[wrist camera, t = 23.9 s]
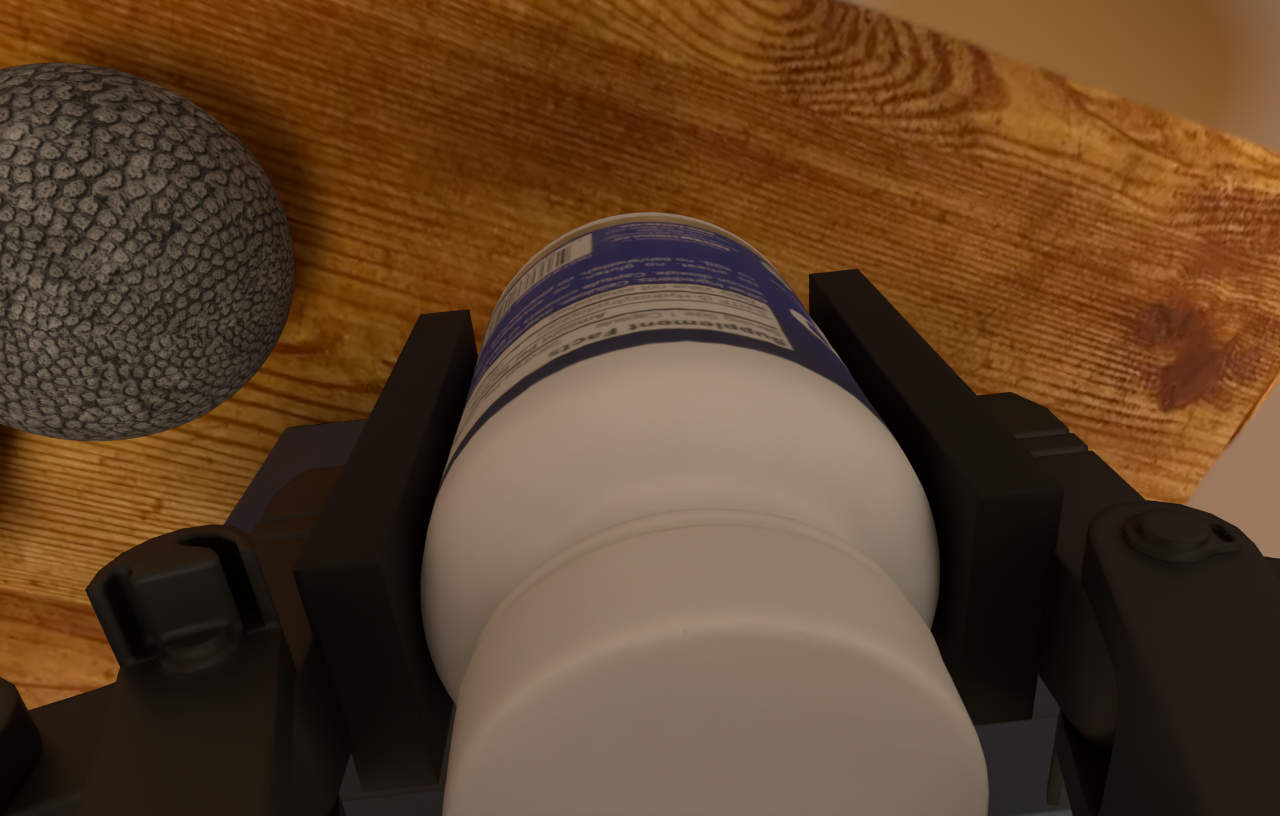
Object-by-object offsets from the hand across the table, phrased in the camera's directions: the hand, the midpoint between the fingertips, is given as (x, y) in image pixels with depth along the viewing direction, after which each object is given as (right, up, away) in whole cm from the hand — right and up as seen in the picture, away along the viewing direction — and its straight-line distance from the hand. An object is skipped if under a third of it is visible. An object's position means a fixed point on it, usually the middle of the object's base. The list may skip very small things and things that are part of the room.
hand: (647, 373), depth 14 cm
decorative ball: (-15, +6, +15) cm, 22 cm away
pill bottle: (0, 0, +1) cm, 0 cm away
